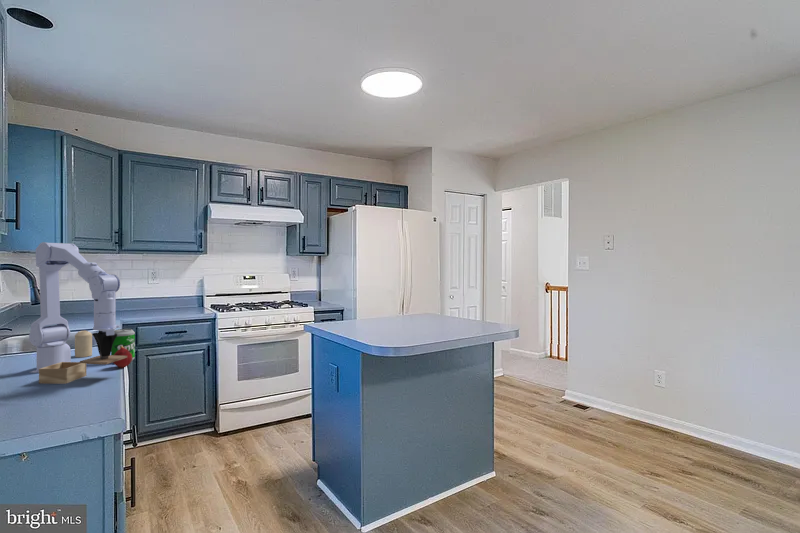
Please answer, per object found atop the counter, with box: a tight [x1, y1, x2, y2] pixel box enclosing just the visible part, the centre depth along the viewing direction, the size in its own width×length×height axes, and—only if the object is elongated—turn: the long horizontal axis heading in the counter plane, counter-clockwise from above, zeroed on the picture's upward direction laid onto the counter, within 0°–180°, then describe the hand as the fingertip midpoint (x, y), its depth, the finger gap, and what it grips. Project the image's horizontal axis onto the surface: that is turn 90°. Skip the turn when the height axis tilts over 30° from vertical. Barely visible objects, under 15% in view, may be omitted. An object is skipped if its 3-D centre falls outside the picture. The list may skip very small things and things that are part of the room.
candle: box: [74, 330, 93, 358], centre depth 171 cm, size 6×6×10 cm
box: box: [38, 361, 87, 385], centre depth 136 cm, size 9×8×5 cm
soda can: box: [110, 328, 136, 363], centre depth 162 cm, size 8×8×12 cm
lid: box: [79, 352, 127, 366], centre depth 138 cm, size 10×9×5 cm
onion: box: [112, 346, 133, 369], centre depth 152 cm, size 6×6×8 cm
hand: (104, 355), depth 138 cm, fingers closed on lid, 2 cm apart
